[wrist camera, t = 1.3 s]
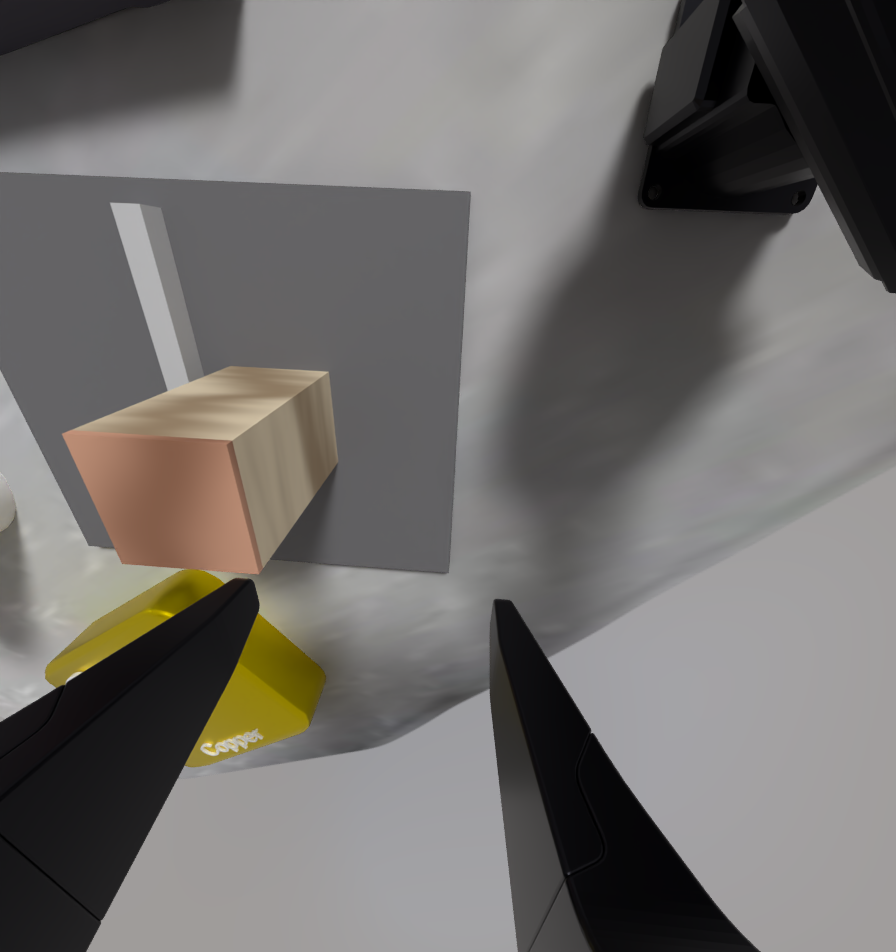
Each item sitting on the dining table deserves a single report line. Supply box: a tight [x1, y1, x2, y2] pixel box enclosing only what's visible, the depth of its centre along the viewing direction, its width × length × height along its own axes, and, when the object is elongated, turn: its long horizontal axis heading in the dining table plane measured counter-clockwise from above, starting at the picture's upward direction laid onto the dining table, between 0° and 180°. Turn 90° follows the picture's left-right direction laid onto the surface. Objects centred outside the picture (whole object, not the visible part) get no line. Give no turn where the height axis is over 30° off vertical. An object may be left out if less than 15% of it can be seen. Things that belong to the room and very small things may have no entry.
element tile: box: [45, 569, 326, 767], centre depth 30 cm, size 15×15×5 cm
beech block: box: [62, 366, 338, 574], centre depth 17 cm, size 5×5×9 cm
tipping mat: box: [0, 172, 470, 573], centre depth 20 cm, size 24×20×2 cm
